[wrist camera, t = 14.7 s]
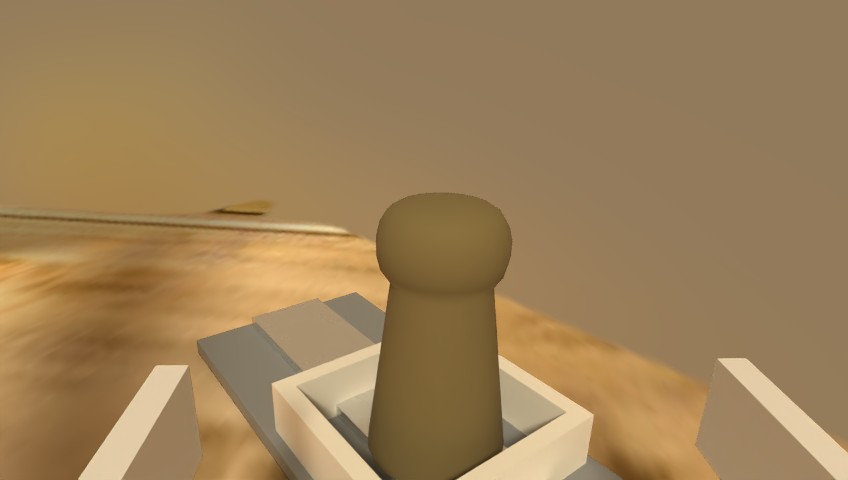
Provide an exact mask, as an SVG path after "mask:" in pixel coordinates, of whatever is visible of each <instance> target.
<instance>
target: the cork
mask: <svg viewBox="0 0 848 480" xmlns="http://www.w3.org/2000/svg"><path fill="white" fill-rule="evenodd" d="M511 249H512V237H511V231H510V227H509V225H508V223H507V221H506V219H505V217H504V215H503V214H502V212H501V211H500V209H498V208H497V207H495V206H493V205H492V204H490V203H489V202H487V201H486V200H483V199H480V198H477V197H473V196H468V195H463V194H454V193H425V194H417V195H412V196H408V197H406V198H403V199H401V200H399V201H397V202H395V203H393V204H392V205H391V206H390V207H389V208H388V209H387V210H386V211H385V213H384V215H383V216H382V218H381V219H380V222H379V226H378V230H377V234H376V256H377V260H378V263H379V267H380V270H381V271H382V273H383V274H384V275H385V277H386V278H387V279H388V281H389V282H390V287H389V294H388V301H387V308H386V315H385V321H384V328H383V335H382V342H381V349H380V356H379V362H378V369H377V376H376V383H375V390H374V396H373V403H372V410H371V417H370V424H369V431H368V448H369V450H370V453H371V455H372V457H373V460H374V462H375V463H376V464H377V465H378V466H379V467H380V468H381V469H382V470H383V471H384V472H385V473H386V474H387V475H389V476H391V477H393V478H395V479H397V480H456V479H458V478H460V477H461V476H463V475H465V474H466V473H468V472H470V471H471V470H473V469H475V468H476V467H478V466H479V465H481V464H483V463H484V462H486V461H488V460H489V459H491V458H493V457H494V456H496V455H497V454H499V453H501V452H502V450H503V444H504V439H503V423H502V407H501V391H500V376H499V360H498V344H497V329H496V313H495V297H494V287H495V286H496V285H497V284H498V283H499V282H500V281H501V280H502V279H503V277H504V274H505V271H506V269H507V266H508V263H509V260H510V256H511Z"/></svg>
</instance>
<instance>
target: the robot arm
mask: <svg viewBox="0 0 848 480" xmlns="http://www.w3.org/2000/svg"><path fill="white" fill-rule="evenodd" d="M695 445H696V447H697V448H698V450H699V451H700V452H701V454H702V455H703V456H704V458H705V459H706V460H707V462H708V463H709V465H710V466H711V467H712V469H713V470H714V471H715V473H716V474H717V476H718V477H719V478H720V480H848V453H847V452H846V451H845V450H844V449H843V448H842V447H841V446H840V445H839V444H837V443H836V442H835V441H834V440H833V439H832V438H831V437H830V436H829V435H828V434H827V433H826V432H825V431H823V430H822V429H821V428H820V427H819V426H818V425H817V424H816V423H815V422H814V421H813V420H812V419H810V417H808V416H807V415H806V414H805V413H804V412H803V411H802V410H801V409H800V408H799V407H798V406H797V405H796V404H794V403H793V402H792V401H791V400H790V399H789V398H788V397H787V396H786V395H785V394H784V393H783V392H782V391H780V389H778V388H777V387H776V386H775V385H774V384H773V383H772V382H771V381H770V380H769V379H768V378H767V377H765V376H764V375H763V374H762V373H761V372H760V371H759V370H758V369H757V368H756V367H755V366H754V365H753V364H751V362H749V361H748V360H747V359H746V358H730V359H729V358H727V359H726V358H725V359H717V361H716V365H715V369H714V373H713V377H712V381H711V384H710V388H709V392H708V396H707V400H706V404H705V408H704V412H703V416H702V420H701V424H700V428H699V432H698V435H697V439H696V443H695ZM202 456H203V455H202V448H201V442H200V435H199V428H198V422H197V415H196V409H195V402H194V396H193V389H192V382H191V376H190V369H189V365H156V366H155V368H154V369H153V370H152V372H151V373H150V375H149V376H148V378H147V379H146V381H145V382H144V384H143V385H142V387H141V388H140V389H139V391H138V392H137V394H136V395H135V397H134V398H133V400H132V401H131V403H130V404H129V405H128V407H127V408H126V410H125V411H124V413H123V414H122V416H121V417H120V419H119V420H118V422H117V423H116V424H115V426H114V427H113V429H112V430H111V432H110V433H109V435H108V436H107V438H106V439H105V441H104V442H103V443H102V445H101V446H100V448H99V449H98V451H97V452H96V454H95V455H94V457H93V458H92V459H91V461H90V462H89V464H88V465H87V467H86V468H85V470H84V471H83V473H82V474H81V476H80V477H79V478H78V480H193V477H194V475H195V473H196V470H197V468H198V466H199V463H200V461H201V459H202Z"/></svg>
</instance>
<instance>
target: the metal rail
mask: <svg viewBox="0 0 848 480" xmlns="http://www.w3.org/2000/svg"><path fill="white" fill-rule="evenodd" d="M252 323H253V328H254V329H255V330H256V332H257V333H258V334H259V335H260V336H261V337H262V338H263V339H264V340H265V341H266V342H267V343H268V344H269V345H270V346H271V347H272V349H273V350H274V351H275V352H276V353H277V354H278V355H279V356H280V357H281V358H282V359H283V360H284V361H285V362H286V363H287V364H288V366H289V367H290V368H291V369H292V370H293V371H294V372H295V373H296V374H298V373H301V372H303V371H306V370H309V369H311V368H314V367H317V366H319V365H322V364H325V363H327V362H330V361H332V360H335V359H338V358H340V357H343V356H346V355H348V354H351V353H354V352H356V351H359V350H362V349H364V348H367V347H370V346H372V345H375V343H373V342H372V341H371V340H370V339H368V338H367V337H366V336H365V335H363V334H362V333H361V332H360V331H358V330H357V329H356V328H354V327H353V326H352V325H351V324H349V323H348V322H347V321H346V320H344V319H343V318H342V317H341V316H339V315H338V314H337V313H336V312H334V311H333V310H332V309H330V308H329V307H328V306H327V305H325V304H324V303H323V302H322V301H320V300H319V299H318V298H317V299H314V300H310V301H307V302H304V303H300V304H297V305H294V306H290V307H287V308H283V309H280V310H277V311H273V312H270V313H267V314H263V315H260V316H257V317H253V318H252ZM374 390H375V388H372V389H370V390H368V391H365V392H363V393H361V394H358V395H356V396H354V397H351V398H349V399H347V400H345V401H342V402H340V403H338V404H336V417H337V418H338V419H339V420H340V421H341V422H342V423H343V424H344V425H345V426H346V427H347V428H348V429H349V430H350V431H351V432H352V434H353V435H354V436H355V437H356V438H357V439H358V440H359V441H360V442H361V443H362V444H363V445H364V446H365V447H366V448H367V449H368V451H369V452H370V450H369V448H368V431H369V424H370V417H371V410H372V403H373V396H374ZM506 449H507V448H506V447H505V446H504V445H503V450H502V451H504V450H506ZM396 480H397V479H396ZM546 480H547V479H546Z"/></svg>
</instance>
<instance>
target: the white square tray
mask: <svg viewBox="0 0 848 480" xmlns="http://www.w3.org/2000/svg"><path fill="white" fill-rule="evenodd" d="M380 349H381V342H380V343H378V344H375V345H372V346H370V347H367V348H364V349H362V350H359V351H356V352H354V353H351V354H348V355H346V356H343V357H340V358H338V359H335V360H332V361H330V362H327V363H325V364H322V365H319V366H317V367H314V368H311V369H309V370H306V371H303V372H301V373H298V374H295V375H293V376H290V377H287V378H285V379H282V380H279V381H277V382H274V383H272V394H273V405H274V416H275V428H276V431H277V432H278V434H279V435H280V436H281V438H282V439H283V440H284V442H285V443H286V444H287V446H288V447H289V448H290V449H291V451H292V452H293V453H294V455H295V456H296V457H297V459H298V460H299V461H300V463H301V464H302V465H303V466H304V468H305V469H306V470H307V472H308V473H309V474H310V476H311V477H312V478H313V480H381V479H380V478H379V477H378V475H377V474H376V473H375V472H374V471H373V470H372V469H371V468H370V467H369V466H368V464H367V463H366V462H365V461H364V460H363V459H362V458H361V457H360V456H359V455H358V453H357V452H356V451H355V450H354V449H353V448H352V447H351V446H350V445H349V444H348V442H347V441H346V440H345V439H344V438H343V437H342V436H341V435H340V434H339V433H338V431H337V430H336V429H335V428H334V427H333V426H332V425H331V424H330V423H329V422H328V420H329V419H331V418H333V417H335V416H336V404H338V403H340V402H342V401H345V400H347V399H349V398H351V397H354V396H356V395H358V394H361V393H363V392H365V391H368V390H370V389H372V388H375V383H376V376H377V369H378V362H379V356H380ZM498 360H499V376H500V391H501V407H502V418H503V419H505V420H506V421H507V422H509V423H510V424H512V425H513V426H514V427H516V428H517V429H518V430H520V431H521V432H522V433H524V434H525V435H526V436H527V437H525V438H524V439H522V440H520V441H519V442H517V443H515V444H514V445H512V446H511V447H509V448H507V449H506V450H504V451H502V452H501V453H499V454H497V455H496V456H494V457H493V458H491V459H489V460H488V461H486V462H484V463H483V464H481V465H479V466H478V467H476V468H475V469H473V470H471V471H470V472H468V473H466V474H465V475H463V476H461V477H460V478H458V479H456V480H546V479H547V480H563V479H564V478H566V477H567V476H569V475H570V474H571V473H573V472H574V471H576V470H577V469H578V468H580V467H581V466H583V465H584V464H585V463H586V460H587V454H588V448H589V442H590V436H591V430H592V424H593V418H594V414H592V413H590V412H589V411H587V410H586V409H584V408H582V407H581V406H579V405H578V404H576V403H575V402H573V401H571V400H570V399H568V398H567V397H565V396H563V395H562V394H560V393H559V392H557V391H556V390H554V389H552V388H551V387H549V386H548V385H546V384H544V383H543V382H541V381H540V380H538V379H536V378H535V377H533V376H532V375H530V374H529V373H527V372H525V371H524V370H522V369H521V368H519V367H517V366H516V365H514V364H513V363H511V362H510V361H508V360H506V359H505V358H503V357H502V356H500V355H498Z"/></svg>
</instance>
